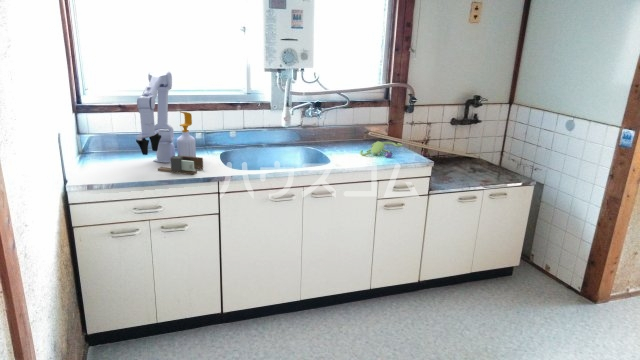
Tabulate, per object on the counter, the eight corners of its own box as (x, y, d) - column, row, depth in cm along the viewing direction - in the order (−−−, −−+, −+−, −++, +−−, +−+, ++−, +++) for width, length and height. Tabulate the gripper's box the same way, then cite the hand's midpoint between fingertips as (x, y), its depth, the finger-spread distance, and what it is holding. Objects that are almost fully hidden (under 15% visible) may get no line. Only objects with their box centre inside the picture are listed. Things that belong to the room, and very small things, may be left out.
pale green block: (182, 169, 214) (182, 160, 213) (194, 170, 213) (193, 161, 211) (180, 170, 212) (180, 160, 211) (192, 171, 211) (192, 162, 209)
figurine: (404, 151, 270) (405, 141, 268) (388, 160, 248) (389, 150, 246) (375, 146, 278) (375, 137, 277) (357, 155, 256) (358, 145, 254)
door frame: (169, 165, 224) (169, 154, 223) (204, 168, 220) (203, 157, 218) (157, 170, 215) (157, 159, 213) (193, 174, 211) (193, 163, 209)
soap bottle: (174, 159, 234) (171, 111, 226) (185, 155, 242) (182, 109, 235) (188, 161, 231) (186, 113, 223) (199, 157, 239) (197, 110, 231)
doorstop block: (183, 168, 216) (182, 156, 214) (180, 171, 212) (180, 158, 210) (173, 168, 216) (172, 156, 214) (171, 170, 211) (170, 158, 210)
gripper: (149, 119, 213) (151, 148, 217) (129, 125, 199) (132, 155, 203) (162, 121, 211) (164, 149, 215) (143, 126, 198) (146, 157, 202)
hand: (150, 152), depth 209 cm, fingers open, 7 cm apart
